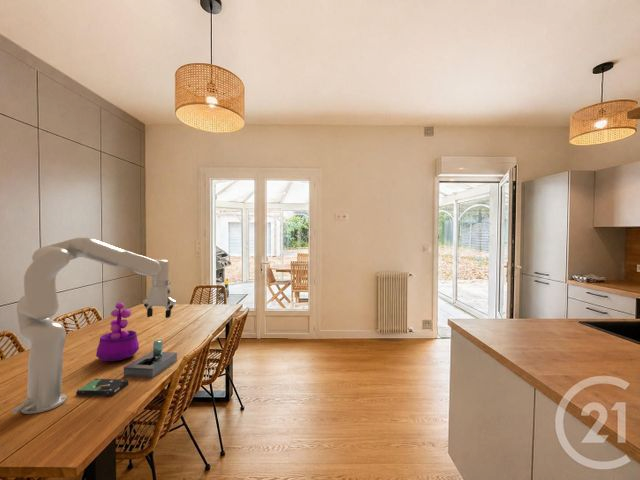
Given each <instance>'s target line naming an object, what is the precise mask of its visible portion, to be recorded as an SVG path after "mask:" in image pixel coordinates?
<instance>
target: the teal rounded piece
mask: <svg viewBox="0 0 640 480" xmlns="http://www.w3.org/2000/svg"><path fill="white" fill-rule="evenodd" d="M152 351H153V356H155V359H154V360H152V361H151V365H152V364H153V363H155V362H156V359H157V358H159V357H160V356H161V355H162V352H163V339H157V340H154V341H153V350H152Z"/></svg>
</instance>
